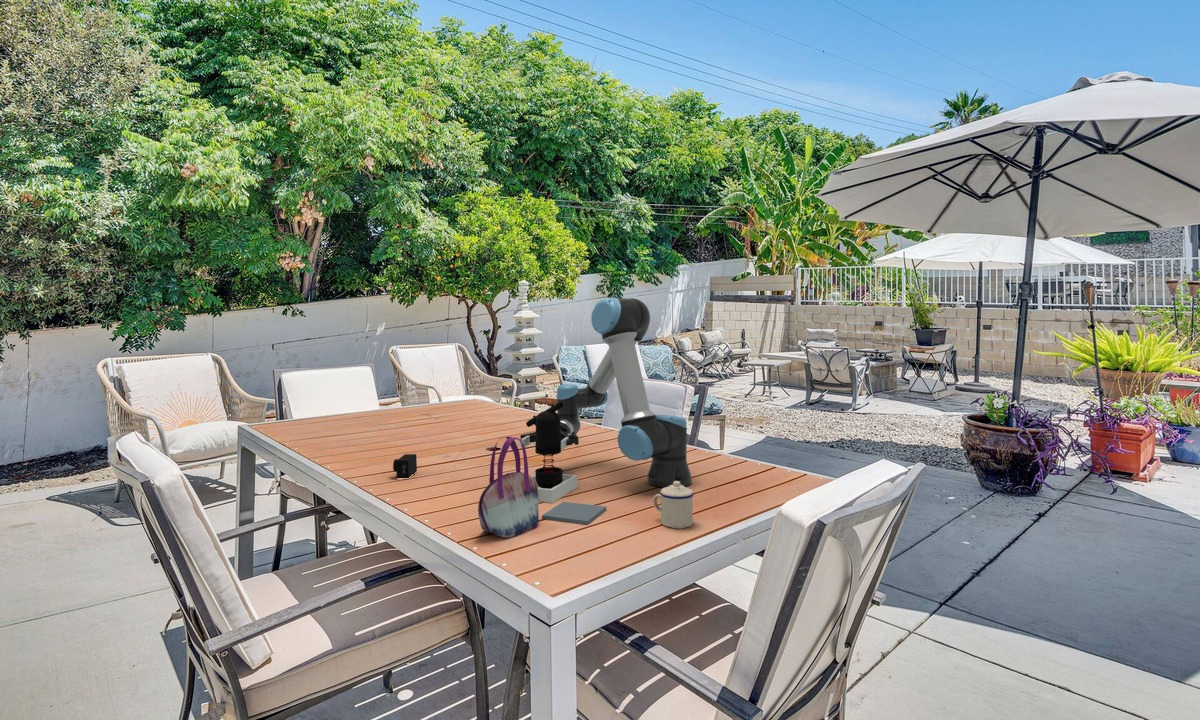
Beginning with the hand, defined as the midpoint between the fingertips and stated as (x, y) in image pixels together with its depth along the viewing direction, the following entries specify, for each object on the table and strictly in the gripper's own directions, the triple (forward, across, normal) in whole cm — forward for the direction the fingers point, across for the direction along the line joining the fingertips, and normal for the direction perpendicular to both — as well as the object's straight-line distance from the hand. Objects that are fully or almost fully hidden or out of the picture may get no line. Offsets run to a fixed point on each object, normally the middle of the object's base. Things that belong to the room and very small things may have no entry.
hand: (542, 444), depth 196 cm
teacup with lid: (+18, -43, -17) cm, 50 cm away
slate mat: (+16, -15, -16) cm, 28 cm away
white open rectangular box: (-3, 0, -16) cm, 17 cm away
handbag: (+32, -1, -17) cm, 36 cm away
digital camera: (-15, +56, -17) cm, 61 cm away
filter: (-3, 0, -17) cm, 17 cm away
